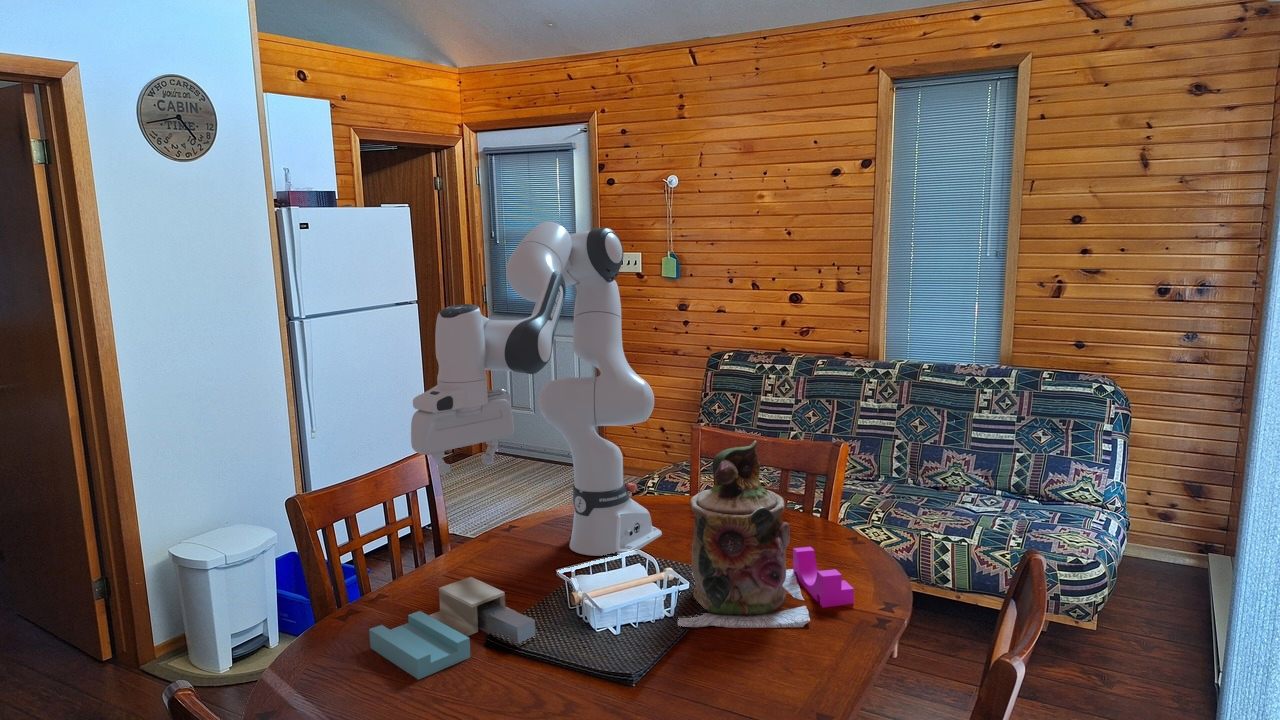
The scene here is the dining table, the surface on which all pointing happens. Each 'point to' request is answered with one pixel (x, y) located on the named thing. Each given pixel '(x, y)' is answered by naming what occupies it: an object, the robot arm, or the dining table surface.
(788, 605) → the dining table surface
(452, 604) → the bracket
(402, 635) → the teal grooved block
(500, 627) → the gray rectangular bar
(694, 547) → the cookie jar
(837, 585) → the toy block
